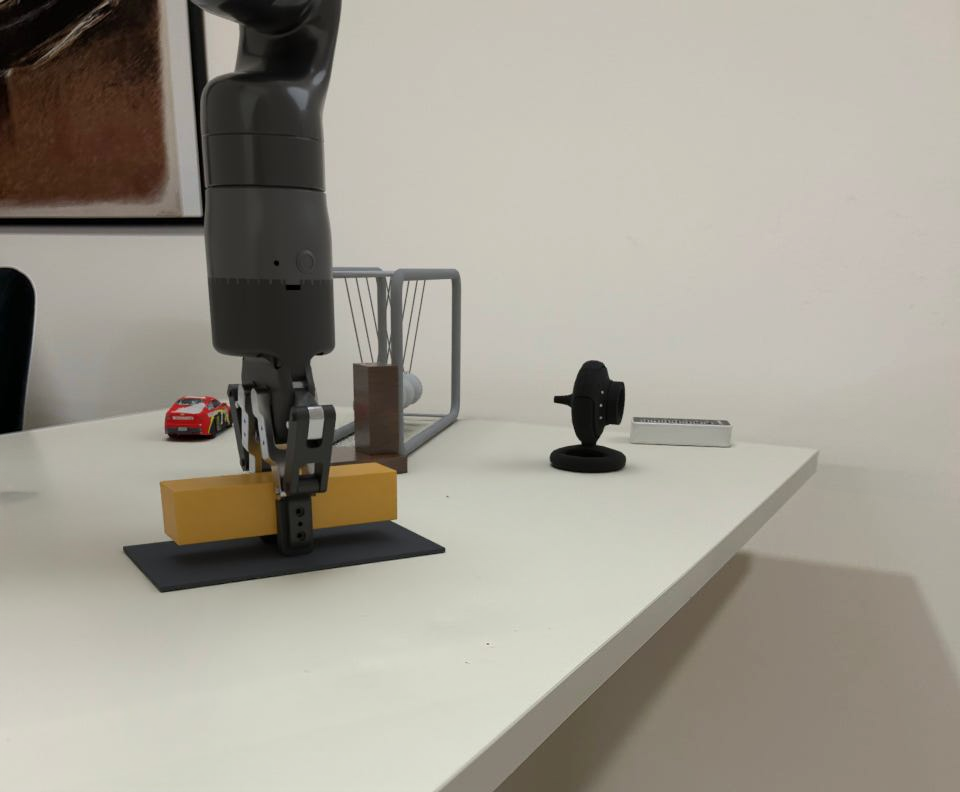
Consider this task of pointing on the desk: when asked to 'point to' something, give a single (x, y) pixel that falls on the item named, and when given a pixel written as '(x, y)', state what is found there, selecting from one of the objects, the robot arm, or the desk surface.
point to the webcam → (592, 420)
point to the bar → (272, 503)
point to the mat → (274, 555)
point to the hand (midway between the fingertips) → (285, 545)
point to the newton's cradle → (407, 382)
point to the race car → (197, 416)
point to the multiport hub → (680, 431)
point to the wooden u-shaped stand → (374, 419)
